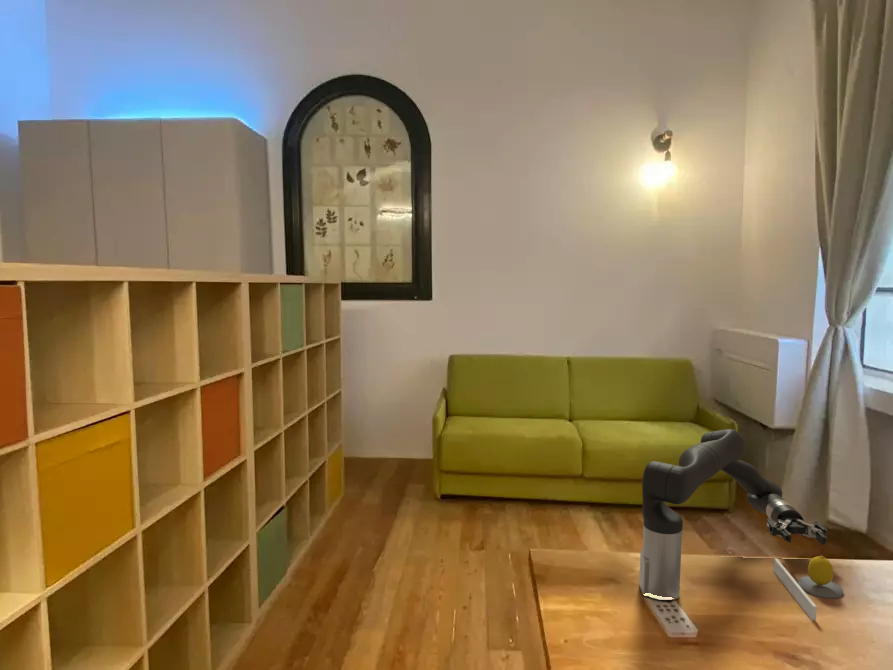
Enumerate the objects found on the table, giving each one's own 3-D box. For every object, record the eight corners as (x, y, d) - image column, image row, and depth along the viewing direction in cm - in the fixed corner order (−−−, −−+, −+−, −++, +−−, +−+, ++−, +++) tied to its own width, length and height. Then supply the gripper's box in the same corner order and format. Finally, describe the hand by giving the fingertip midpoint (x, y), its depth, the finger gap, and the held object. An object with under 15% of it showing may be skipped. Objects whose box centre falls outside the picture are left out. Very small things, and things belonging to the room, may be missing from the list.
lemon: (835, 592, 156) (838, 562, 155) (811, 590, 157) (813, 559, 156) (826, 581, 162) (829, 552, 161) (803, 579, 163) (805, 550, 162)
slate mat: (807, 597, 155) (807, 594, 155) (791, 577, 165) (791, 575, 165) (850, 600, 154) (850, 597, 154) (831, 579, 164) (831, 577, 164)
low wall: (812, 620, 145) (813, 606, 145) (773, 570, 169) (774, 558, 168) (815, 620, 145) (816, 606, 144) (776, 571, 168) (777, 558, 168)
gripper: (758, 502, 185) (779, 525, 169) (810, 505, 183) (836, 528, 167) (757, 526, 186) (777, 551, 170) (808, 529, 184) (834, 555, 168)
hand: (806, 540), depth 168 cm, fingers open, 8 cm apart
